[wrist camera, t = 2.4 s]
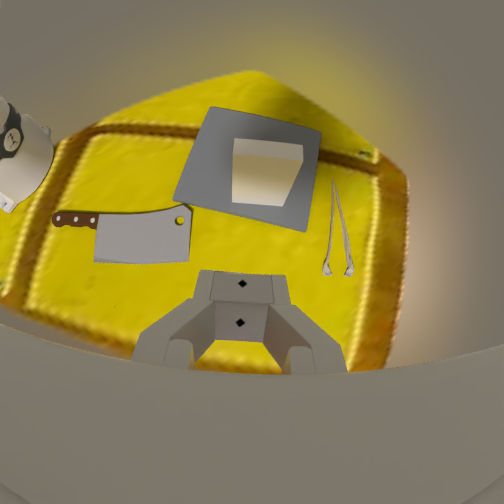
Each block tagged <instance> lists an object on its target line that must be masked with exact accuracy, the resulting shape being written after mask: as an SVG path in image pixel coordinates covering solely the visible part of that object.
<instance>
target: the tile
mask: <svg viewBox="0 0 504 504" xmlns="http://www.w3.org/2000/svg"><path fill="white" fill-rule="evenodd" d="M302 163H303V145H298V144H290V143H282V142H273V141H263V140H252V139H239V138H234V147H233V167H232V202H234V203H247V204H260V205H272V206H283V205H284V203H285V200H286V198H287V196H288V194H289V192H290V189H291V187H292V185H293V183H294V181H295V178H296V176H297V174H298V172H299V170H300V167H301V165H302Z"/></svg>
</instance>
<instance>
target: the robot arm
mask: <svg viewBox="0 0 504 504" xmlns="http://www.w3.org/2000/svg"><path fill="white" fill-rule="evenodd" d="M0 9H1V3H0ZM53 152H54V149H53V144H52V142H51V140H50V129H49V128H48V127H42V128H41V127H40V126H39V125H38V124H37V123H36V122H35V121H34V120H33V119H32V118H31V117H30V116H28V115H27V114H25V115H20V114H19V113H18V111H17V109H16V108H15V107H13V106H12V105H11V104H10V103H7V102H6V101H5V100H4V99H3V98H2V96H1V95H0V208H2V209H3V210H4V211H5V212H6V213H10V212H12V210H13V209H14V208H15V207H16V206H17V204H18V203H20V202H21V201H23V200H24V199H26V198H27V197H28V196H30V195H31V194H32V193H33V192H34V191H35V190H36V189H37V187H38V186H39V185H40V184H41V182H42V181H43V179H44V178H45V176H46V174H47V172H48V170H49V168H50V165H51V162H52V159H53ZM215 340H235V341H249V342H263V344H264V346H265V347H266V348H267V350H268V351H269V353H270V354H271V355H272V357H273V358H274V359H275V361H276V362H277V363H278V365H279V366H280V367H281V369H282V370H283V371H282V374H281V375H267V374H240V373H224V372H211V371H201V370H195V362H196V361H197V360H198V359H199V358H200V357H201V356H202V354H203V353H204V352H205V351H206V350H207V349H208V348H209V347H210V345H211V344H212V343H213V342H214V341H215ZM0 504H504V344H502V345H499V346H495V347H492V348H488V349H485V350H481V351H477V352H473V353H469V354H465V355H461V356H457V357H453V358H448V359H443V360H438V361H433V362H427V363H422V364H416V365H409V366H403V367H396V368H388V369H380V370H371V371H360V372H348V371H347V367H346V364H345V360H344V357H343V353H342V350H341V346H340V344H338V343H337V342H336V341H335V340H334V339H333V338H332V337H330V336H329V335H328V334H327V333H326V332H325V331H324V330H322V329H321V328H320V327H319V326H318V325H317V324H316V323H315V322H313V321H312V320H311V319H310V318H309V317H308V316H307V315H306V314H304V313H303V312H302V311H301V310H300V309H299V308H298V307H297V306H295V305H291V303H290V297H289V291H288V286H287V280H286V276H285V275H260V274H243V273H234V272H223V271H212V270H200V272H199V276H198V279H197V283H196V287H195V291H194V295H193V299H190V298H189V299H187V300H186V301H184V302H183V303H182V304H180V305H179V306H177V307H176V308H175V309H173V310H172V311H170V312H169V313H168V314H166V315H165V316H163V317H162V318H161V319H159V320H158V321H157V322H155V323H154V324H152V325H151V326H150V327H148V328H147V329H145V330H144V331H143V332H141V333H140V336H139V339H138V341H137V344H136V347H135V349H134V352H133V355H132V358H131V361H130V360H125V359H120V358H115V357H110V356H106V355H101V354H97V353H92V352H88V351H84V350H80V349H76V348H73V347H69V346H65V345H62V344H58V343H55V342H52V341H48V340H45V339H42V338H39V337H36V336H33V335H30V334H27V333H24V332H21V331H19V330H16V329H13V328H10V327H8V326H5V325H2V324H0Z"/></svg>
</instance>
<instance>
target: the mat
mask: <svg viewBox="0 0 504 504" xmlns="http://www.w3.org/2000/svg"><path fill="white" fill-rule="evenodd" d="M234 138H239V139H252V140H263V141H273V142H282V143H290V144H298V145H303V163H302V165H301V167H300V170H299V172H298V174H297V176H296V178H295V181H294V183H293V185H292V187H291V189H290V192H289V194H288V196H287V198H286V200H285V203H284V205H283V206H272V205H260V204H247V203H234V202H232V167H233V147H234ZM320 139H321V132H320V131H317V130H314V129H310V128H307V127H303V126H300V125H296V124H292V123H288V122H284V121H280V120H276V119H272V118H268V117H263V116H259V115H254V114H249V113H244V112H239V111H234V110H228V109H223V108H216V107H210V108H209V111H208V113H207V115H206V117H205V119H204V122H203V124H202V126H201V128H200V131H199V133H198V135H197V138H196V140H195V142H194V145H193V147H192V150H191V152H190V154H189V157H188V159H187V162H186V164H185V167H184V169H183V172H182V175H181V177H180V180H179V182H178V185H177V188H176V191H175V193H174V196H173V201H175V202H180V203H184V204H189V205H193V206H198V207H202V208H207V209H211V210H215V211H220V212H224V213H228V214H232V215H237V216H241V217H245V218H249V219H253V220H257V221H261V222H265V223H269V224H273V225H277V226H281V227H285V228H289V229H293V230H297V231H301V232H306V230H307V225H308V219H309V213H310V207H311V201H312V195H313V188H314V182H315V175H316V168H317V161H318V154H319V147H320Z"/></svg>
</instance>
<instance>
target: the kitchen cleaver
mask: <svg viewBox="0 0 504 504" xmlns="http://www.w3.org/2000/svg"><path fill="white" fill-rule="evenodd" d="M178 217H183V218H184V219H185V221H184V223H183V224H182V225H180V226H178V225H176V223H175V221H176V219H177V218H178ZM191 218H192V212H191V211H190V210H189V209H188V208H186V207H185V206H184V205H181V206H178V207H175V208H172V209H168V210H164V211H158V212H152V213H146V214H129V215H120V214H95V213H74V212H56V213H54V214H53V217H52V223H53V224H54V226H56V227H62V226H64V225H70V226H73V227H83V226H88V227H90V228H91V229H96V240H95V253H94V262H101V263H124V264H154V263H171V262H186V261H189V246H190V231H191Z"/></svg>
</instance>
